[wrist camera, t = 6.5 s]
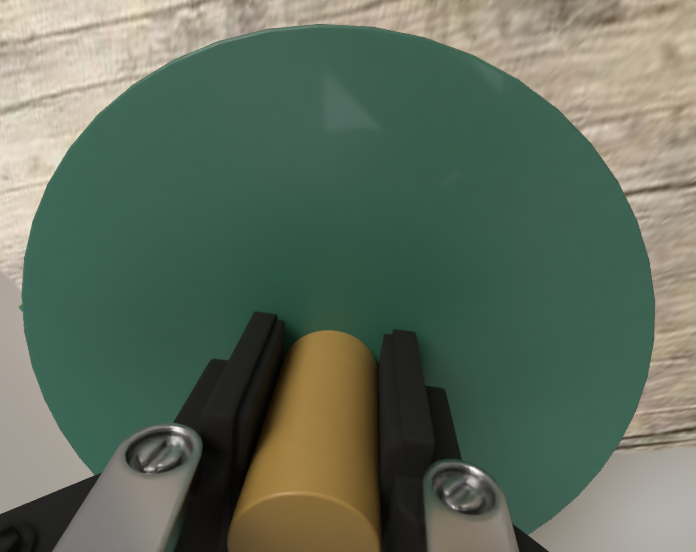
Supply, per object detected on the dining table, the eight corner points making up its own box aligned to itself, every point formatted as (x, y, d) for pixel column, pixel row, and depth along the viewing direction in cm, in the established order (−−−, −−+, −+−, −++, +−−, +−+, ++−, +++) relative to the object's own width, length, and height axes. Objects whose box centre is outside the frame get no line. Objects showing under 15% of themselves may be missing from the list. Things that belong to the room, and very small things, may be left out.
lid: (12, -13, 10) (-456, -143, 4) (732, 79, 10) (1201, 70, 4) (78, 519, 16) (-88, 763, 10) (539, 578, 16) (633, 855, 10)
